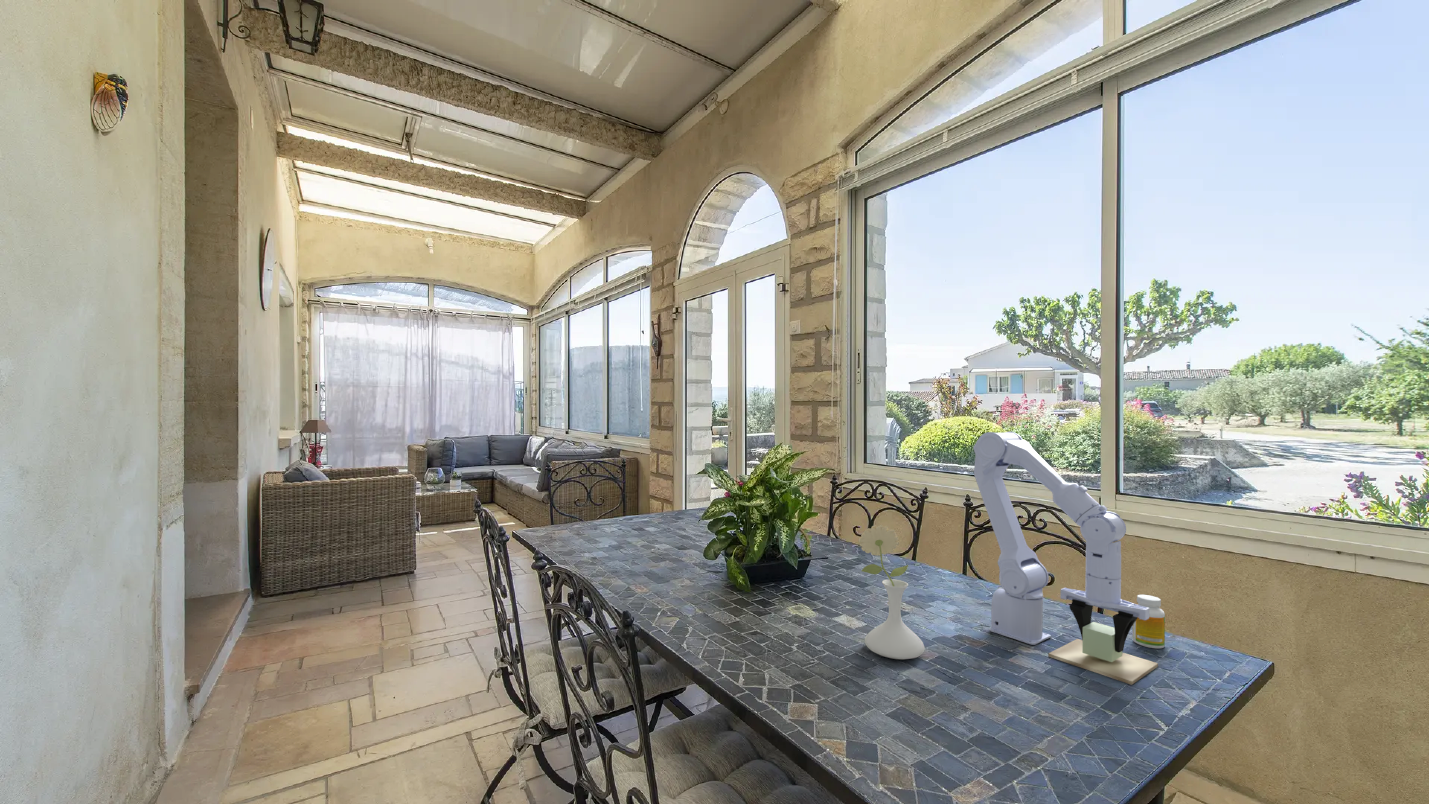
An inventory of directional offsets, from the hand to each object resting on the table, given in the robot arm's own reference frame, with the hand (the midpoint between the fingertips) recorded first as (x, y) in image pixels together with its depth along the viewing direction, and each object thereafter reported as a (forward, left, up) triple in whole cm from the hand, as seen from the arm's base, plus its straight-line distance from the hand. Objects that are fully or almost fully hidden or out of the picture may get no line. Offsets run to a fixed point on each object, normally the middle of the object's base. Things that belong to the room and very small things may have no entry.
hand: (1102, 645), depth 111 cm
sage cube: (0, 0, -2) cm, 2 cm away
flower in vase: (-26, -31, -3) cm, 41 cm away
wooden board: (0, 0, -3) cm, 3 cm away
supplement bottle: (+2, +18, -3) cm, 18 cm away
